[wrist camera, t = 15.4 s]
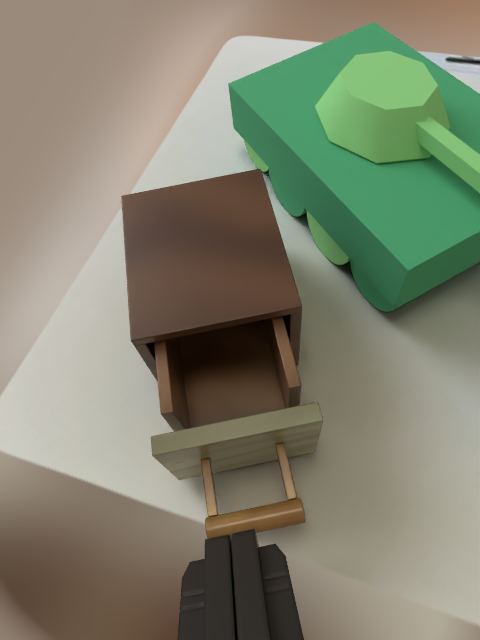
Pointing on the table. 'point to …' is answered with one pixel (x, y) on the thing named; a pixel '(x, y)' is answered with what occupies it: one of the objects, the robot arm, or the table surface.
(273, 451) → the drawer
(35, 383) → the table surface
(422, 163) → the toy tank
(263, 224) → the cabinet
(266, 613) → the robot arm
